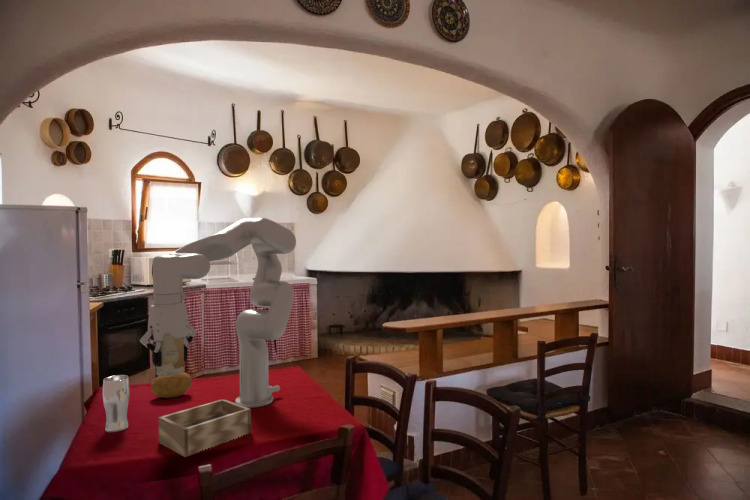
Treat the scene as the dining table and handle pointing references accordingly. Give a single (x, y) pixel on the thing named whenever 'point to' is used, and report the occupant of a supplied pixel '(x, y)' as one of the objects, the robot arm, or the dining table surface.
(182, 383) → the potato
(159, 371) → the skincare box
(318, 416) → the dining table surface
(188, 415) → the insert box
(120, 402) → the beer glass
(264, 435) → the dining table surface
